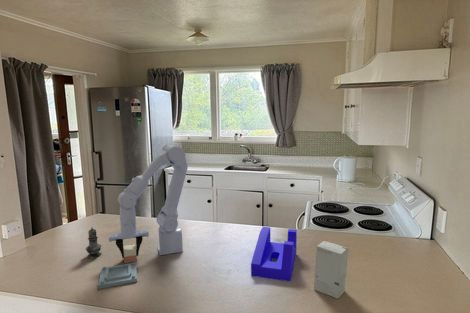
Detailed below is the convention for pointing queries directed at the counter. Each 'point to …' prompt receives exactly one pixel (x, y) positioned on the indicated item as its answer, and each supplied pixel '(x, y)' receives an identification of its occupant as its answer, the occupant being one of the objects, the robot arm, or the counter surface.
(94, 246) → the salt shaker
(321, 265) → the skincare box
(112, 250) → the counter surface
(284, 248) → the bracket
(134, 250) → the cream and red block
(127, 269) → the base plate
